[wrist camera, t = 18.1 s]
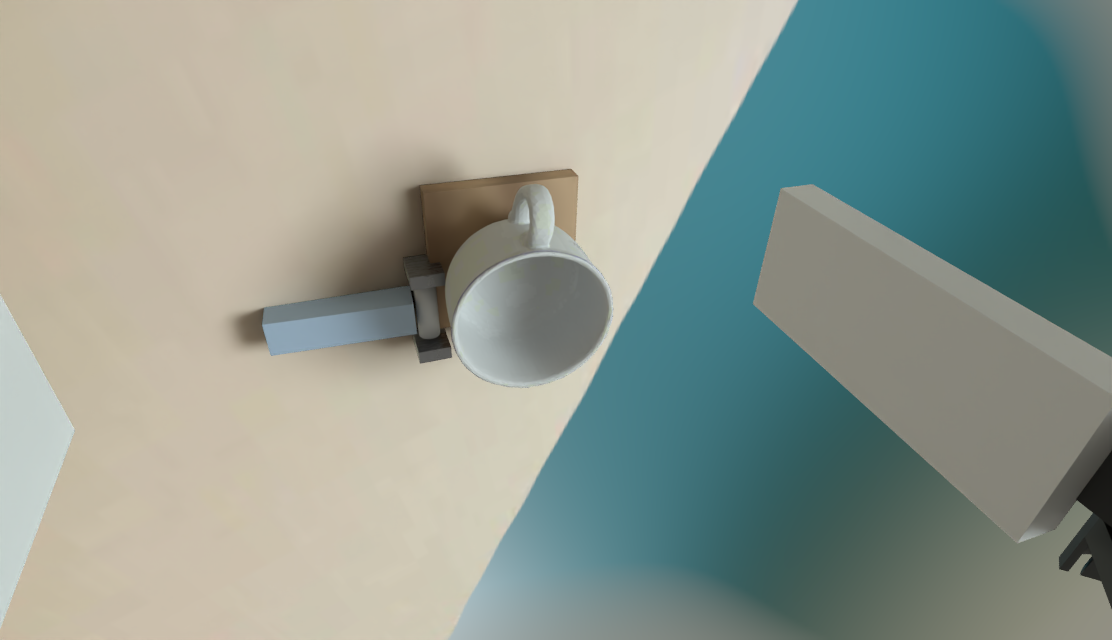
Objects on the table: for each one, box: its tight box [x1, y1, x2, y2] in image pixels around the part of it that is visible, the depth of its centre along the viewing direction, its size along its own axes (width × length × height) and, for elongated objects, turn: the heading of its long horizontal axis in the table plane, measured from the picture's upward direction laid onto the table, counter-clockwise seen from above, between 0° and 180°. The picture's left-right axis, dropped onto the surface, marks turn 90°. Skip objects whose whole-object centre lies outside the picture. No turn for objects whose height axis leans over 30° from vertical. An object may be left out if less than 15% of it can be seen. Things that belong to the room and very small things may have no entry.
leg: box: [262, 286, 440, 356], centre depth 46 cm, size 12×5×3 cm, turn 89°
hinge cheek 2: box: [413, 328, 452, 363], centre depth 49 cm, size 2×1×3 cm, turn 88°
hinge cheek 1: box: [403, 255, 445, 291], centre depth 45 cm, size 2×1×3 cm, turn 89°
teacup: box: [445, 184, 613, 388], centre depth 43 cm, size 14×11×8 cm
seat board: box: [420, 169, 578, 329], centre depth 47 cm, size 11×11×1 cm
